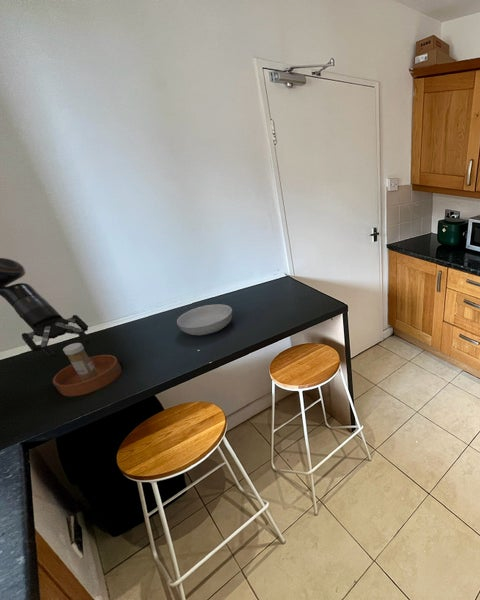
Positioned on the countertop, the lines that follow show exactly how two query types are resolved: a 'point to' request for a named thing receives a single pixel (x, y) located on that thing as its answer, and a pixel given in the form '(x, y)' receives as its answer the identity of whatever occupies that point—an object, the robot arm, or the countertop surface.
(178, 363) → the countertop surface
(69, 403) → the countertop surface
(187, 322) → the serving bowl
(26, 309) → the robot arm
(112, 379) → the pan
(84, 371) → the sprinkles bottle
